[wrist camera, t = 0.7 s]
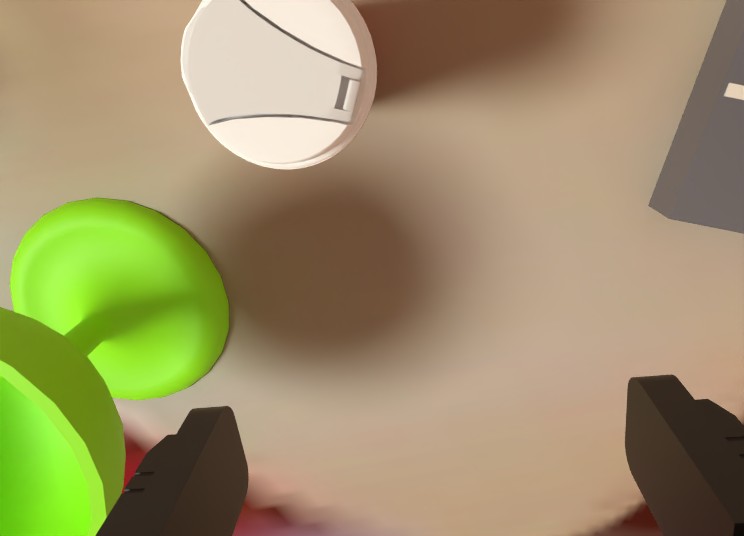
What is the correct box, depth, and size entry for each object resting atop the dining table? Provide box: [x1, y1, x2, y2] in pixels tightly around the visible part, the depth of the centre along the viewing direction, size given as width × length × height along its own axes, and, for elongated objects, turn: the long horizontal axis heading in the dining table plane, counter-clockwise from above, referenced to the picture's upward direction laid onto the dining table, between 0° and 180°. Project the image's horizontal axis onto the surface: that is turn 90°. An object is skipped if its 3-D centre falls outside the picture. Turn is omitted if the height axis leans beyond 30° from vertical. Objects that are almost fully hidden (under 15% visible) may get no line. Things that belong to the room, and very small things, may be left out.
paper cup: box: [181, 0, 377, 169], centre depth 27 cm, size 8×8×14 cm
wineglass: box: [0, 198, 229, 536], centre depth 32 cm, size 16×16×18 cm
